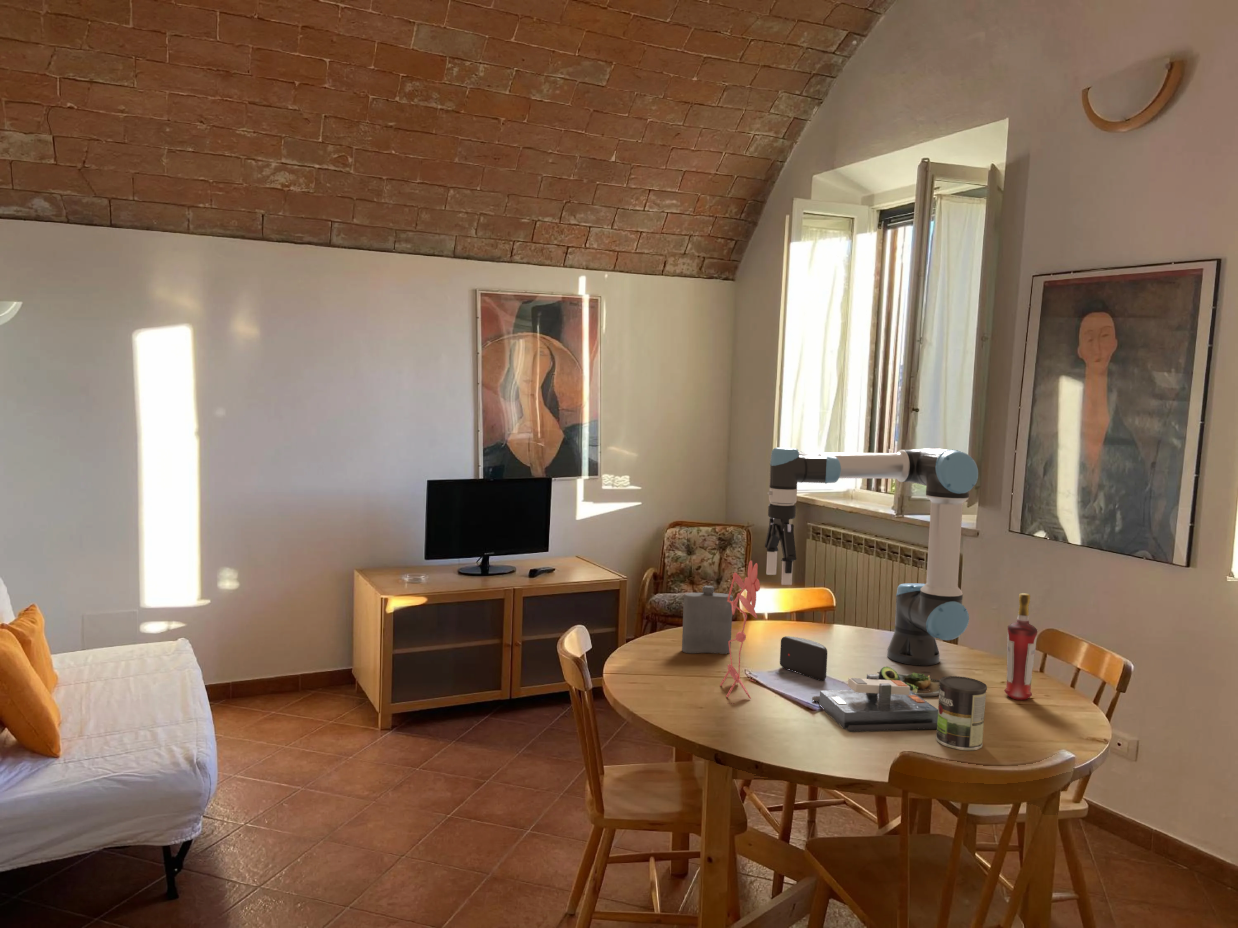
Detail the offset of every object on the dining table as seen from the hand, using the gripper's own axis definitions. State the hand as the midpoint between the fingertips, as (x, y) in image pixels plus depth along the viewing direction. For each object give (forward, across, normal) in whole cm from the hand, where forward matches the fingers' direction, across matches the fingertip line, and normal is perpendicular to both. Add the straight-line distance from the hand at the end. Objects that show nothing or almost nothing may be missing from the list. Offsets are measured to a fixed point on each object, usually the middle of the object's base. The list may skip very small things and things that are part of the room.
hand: (778, 579), depth 257 cm
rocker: (+20, +32, +16) cm, 41 cm away
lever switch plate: (+28, +32, +16) cm, 45 cm away
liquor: (+28, +21, +61) cm, 70 cm away
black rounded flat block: (+28, -2, +9) cm, 29 cm away
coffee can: (+28, +50, +29) cm, 64 cm away
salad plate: (+28, +11, +34) cm, 46 cm away
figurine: (+28, +12, -11) cm, 32 cm away
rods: (+28, +31, +15) cm, 44 cm away
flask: (+28, -26, -13) cm, 40 cm away
